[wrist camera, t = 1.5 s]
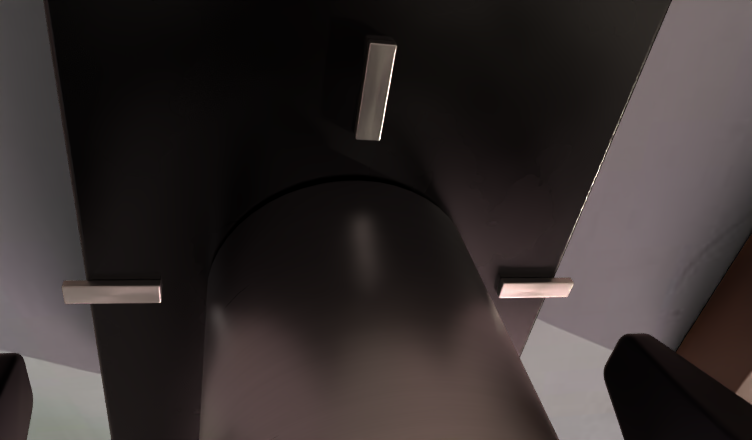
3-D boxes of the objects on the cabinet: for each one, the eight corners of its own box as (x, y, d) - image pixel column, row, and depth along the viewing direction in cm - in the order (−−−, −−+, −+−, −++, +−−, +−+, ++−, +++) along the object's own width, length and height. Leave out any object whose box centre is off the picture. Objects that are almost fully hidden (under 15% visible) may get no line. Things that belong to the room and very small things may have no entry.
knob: (436, 369, 12) (528, 644, 8) (207, 379, 11) (193, 698, 7) (495, 183, 10) (667, 455, 6) (206, 172, 9) (183, 497, 5)
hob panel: (450, 371, 17) (487, 474, 15) (124, 386, 15) (102, 508, 13) (609, -99, 10) (727, -56, 8) (53, -189, 8) (-25, -170, 6)
